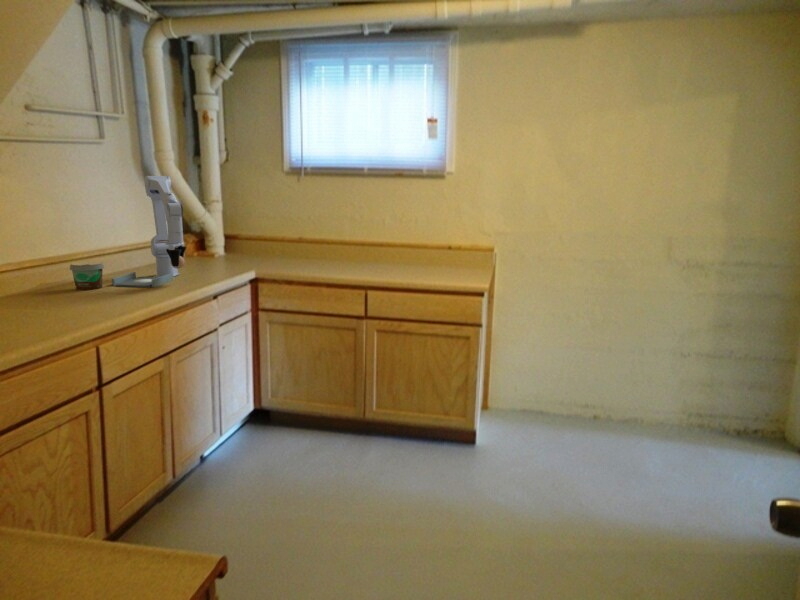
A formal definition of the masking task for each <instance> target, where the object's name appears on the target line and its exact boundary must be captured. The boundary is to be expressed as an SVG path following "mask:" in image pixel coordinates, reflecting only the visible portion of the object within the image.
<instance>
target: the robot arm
mask: <svg viewBox="0 0 800 600" xmlns="http://www.w3.org/2000/svg"><path fill="white" fill-rule="evenodd" d="M144 188H145V193H146V196H147V197H149V198H150V200H151V204H152V210H153V217H154V225H155V226H154V227H155V232H156V233H155V236H153V237H152V238H151V240H150V251H151V254H152V256H153V257H154V258H155V265H156V275H153V277H161V276H164V275H167V274H170V273H173V278H174V277H176V276H179V275H180V274H181V273H180V272H179V270H178V269H179V268H178V269H177V268H174V267H172V265H173V266H178V265H179V256H181V257H183V258H184V255H185V252H186V250H187V246H185V242H184V232H183V231H184V229H183V216H184V206H183V203H182V202H180V201H178V200H177V198H176V196H175V194H174V193H172V192H171V189H172V180H171V177H170V176H169V175H155V176H154V175H146V176H145V177H144ZM170 260H171V262H172V265H171V263H170Z"/></svg>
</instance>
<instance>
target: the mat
mask: <svg viewBox="0 0 800 600" xmlns="http://www.w3.org/2000/svg"><path fill="white" fill-rule="evenodd" d="M156 278H158V277H152V276H136V278H134V279H131V280H128V281H125V282H122V283H119V284H116V286H115V287H119V288H120V287H123V288H146V289H147V288H148V289H149V288H152V280H153V279H156Z"/></svg>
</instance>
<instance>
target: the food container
mask: <svg viewBox="0 0 800 600" xmlns="http://www.w3.org/2000/svg"><path fill="white" fill-rule="evenodd" d="M103 269H105V265H104V263H103V262H100V263H96V264H87V263H86V264H80V265H76V264H72V263H70V265H69V270H70V271H71V272H72V278H73V281H74V285H75V289H76V290H78V291H94V290H99V289H101V288H103V273H104V272H103Z"/></svg>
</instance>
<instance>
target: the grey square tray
mask: <svg viewBox="0 0 800 600" xmlns="http://www.w3.org/2000/svg"><path fill="white" fill-rule="evenodd" d="M136 274H137V273H136V272H135V271H132V272H129V273H125V274H121V275H119V276H116V277H113V278H111V283H112V284H111V285H112V286H113V287H117V286H116V284H119V283H122V282H125V281H128V280H131V279H134V278H137V275H136ZM172 281H174V277H173V273H170V274H167V275H164V276H161V277H158V278H156V279H153V280H152V286H151V288H156V287H159V286H161V285H164V284H167V283H169V282H172Z"/></svg>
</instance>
